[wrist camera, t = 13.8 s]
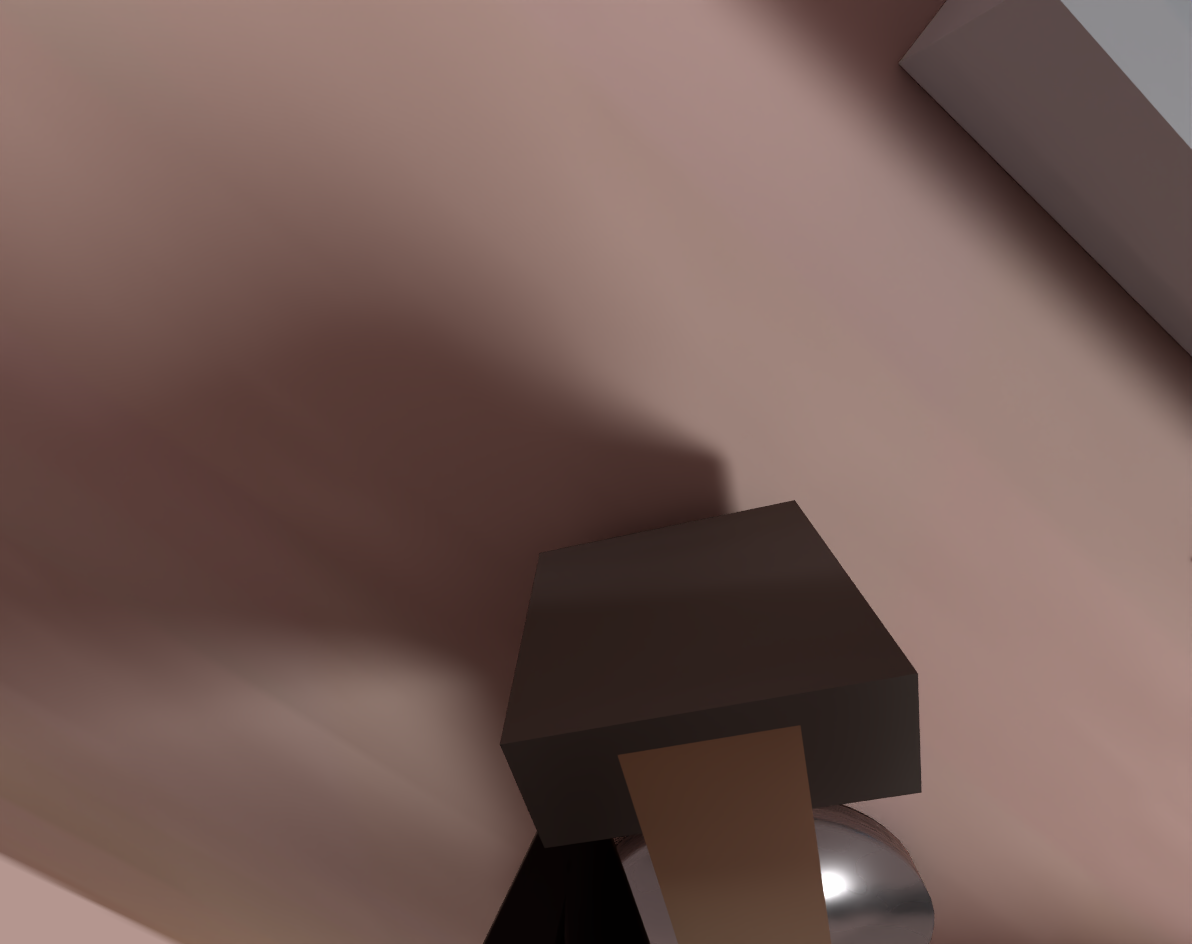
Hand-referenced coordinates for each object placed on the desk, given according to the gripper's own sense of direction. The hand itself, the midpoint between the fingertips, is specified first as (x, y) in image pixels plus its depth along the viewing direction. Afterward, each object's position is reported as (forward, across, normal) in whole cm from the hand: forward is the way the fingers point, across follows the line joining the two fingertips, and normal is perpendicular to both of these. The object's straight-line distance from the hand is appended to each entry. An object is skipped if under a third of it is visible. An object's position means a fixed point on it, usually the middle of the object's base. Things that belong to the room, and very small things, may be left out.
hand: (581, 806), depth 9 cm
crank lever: (+2, -2, +3) cm, 4 cm away
